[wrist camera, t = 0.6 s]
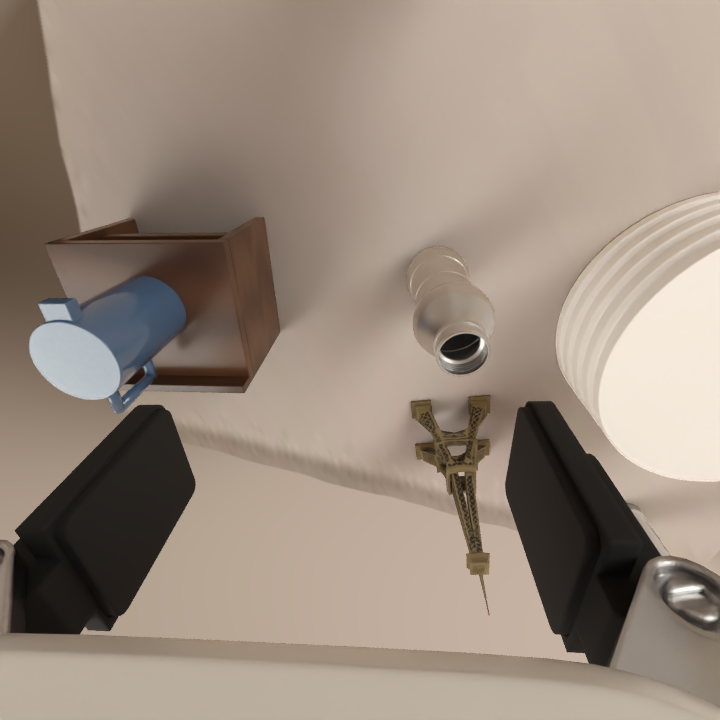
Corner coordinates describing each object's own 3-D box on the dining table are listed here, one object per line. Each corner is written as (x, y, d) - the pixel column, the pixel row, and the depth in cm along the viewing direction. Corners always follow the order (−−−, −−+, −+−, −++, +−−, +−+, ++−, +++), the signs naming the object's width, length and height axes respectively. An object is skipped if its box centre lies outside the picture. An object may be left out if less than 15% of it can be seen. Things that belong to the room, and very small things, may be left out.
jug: (102, 261, 34) (2, 304, 25) (172, 261, 33) (95, 304, 25) (138, 363, 39) (65, 427, 30) (200, 364, 38) (144, 429, 30)
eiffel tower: (488, 453, 57) (547, 646, 35) (416, 457, 58) (431, 645, 37) (489, 395, 52) (559, 578, 30) (410, 401, 53) (423, 580, 32)
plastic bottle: (394, 261, 44) (397, 340, 26) (449, 229, 42) (491, 293, 24) (421, 307, 46) (438, 406, 29) (473, 279, 44) (527, 369, 27)
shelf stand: (126, 218, 44) (26, 248, 32) (264, 217, 42) (214, 247, 30) (160, 330, 51) (89, 389, 39) (280, 332, 49) (244, 393, 37)
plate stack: (600, 446, 55) (646, 513, 45) (516, 289, 44) (553, 332, 34) (844, 351, 45) (970, 411, 35) (810, 124, 35) (976, 118, 25)
